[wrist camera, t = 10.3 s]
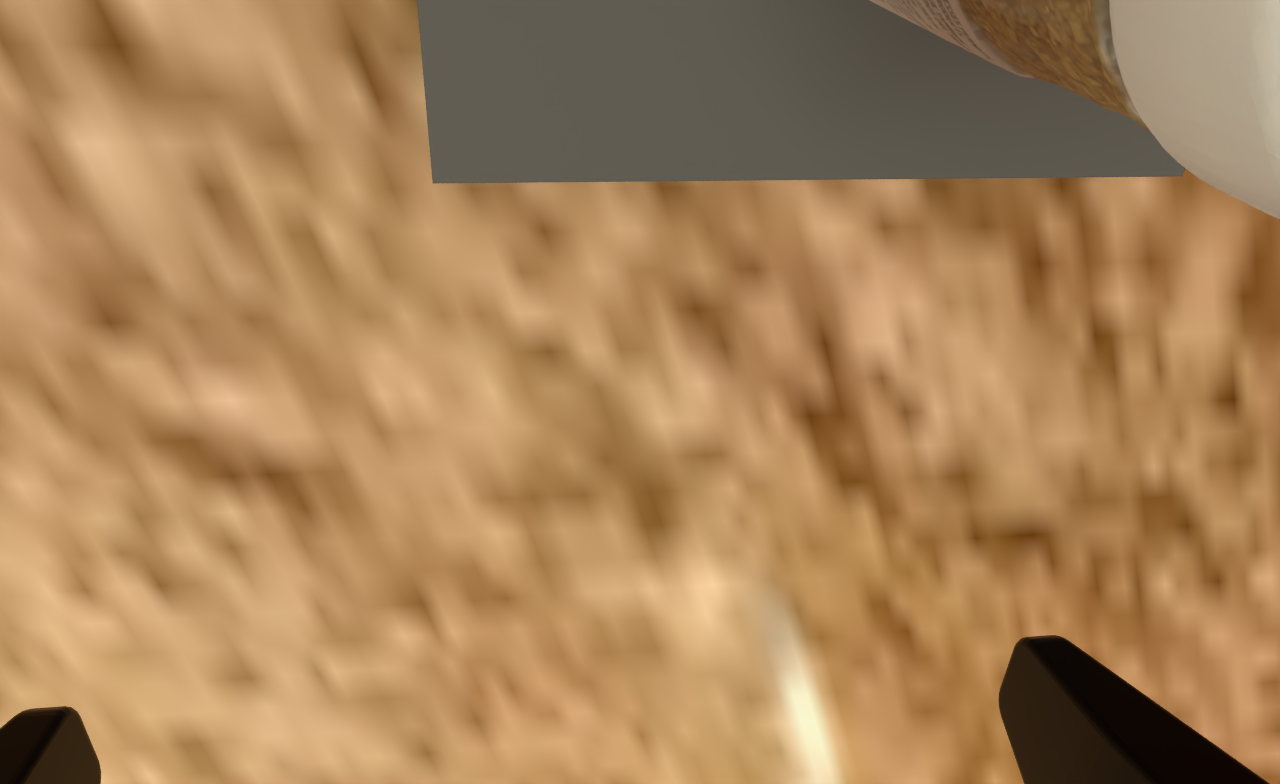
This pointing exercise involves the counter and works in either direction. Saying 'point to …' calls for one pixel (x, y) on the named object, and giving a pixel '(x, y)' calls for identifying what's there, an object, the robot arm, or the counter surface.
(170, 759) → the counter surface
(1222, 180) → the sprinkles bottle
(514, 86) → the gray tray
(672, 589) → the counter surface
